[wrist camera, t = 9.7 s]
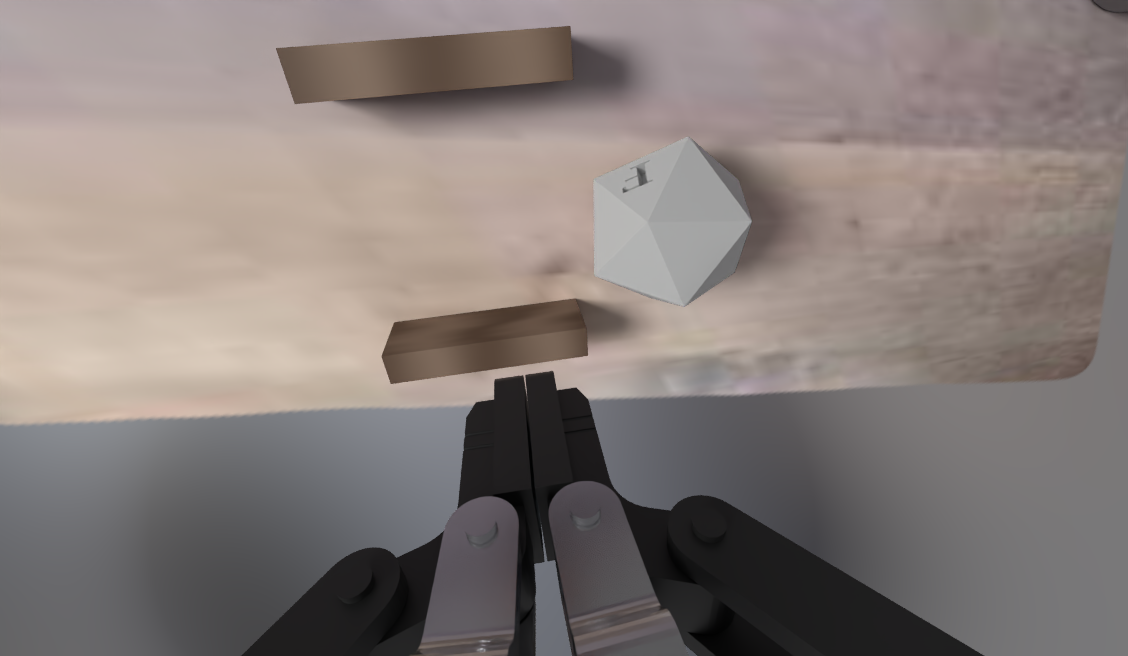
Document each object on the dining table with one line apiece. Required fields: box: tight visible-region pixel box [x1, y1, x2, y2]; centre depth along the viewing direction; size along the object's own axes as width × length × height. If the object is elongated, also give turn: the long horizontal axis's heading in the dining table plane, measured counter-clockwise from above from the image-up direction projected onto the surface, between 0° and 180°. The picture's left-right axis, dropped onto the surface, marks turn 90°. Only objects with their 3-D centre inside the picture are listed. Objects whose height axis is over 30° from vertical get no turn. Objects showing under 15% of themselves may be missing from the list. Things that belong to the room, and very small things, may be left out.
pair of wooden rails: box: [276, 26, 588, 384], centre depth 24 cm, size 12×17×4 cm
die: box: [594, 136, 752, 307], centre depth 24 cm, size 8×9×10 cm
